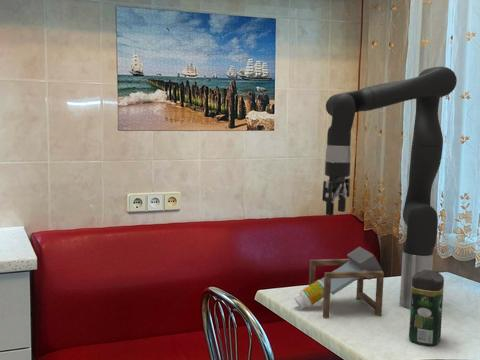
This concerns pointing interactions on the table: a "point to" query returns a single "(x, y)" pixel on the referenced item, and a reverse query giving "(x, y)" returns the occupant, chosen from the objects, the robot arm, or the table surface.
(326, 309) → the frame
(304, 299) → the supplement bottle
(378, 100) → the robot arm
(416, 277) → the coffee jar
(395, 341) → the table surface
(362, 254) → the grey angled panel
